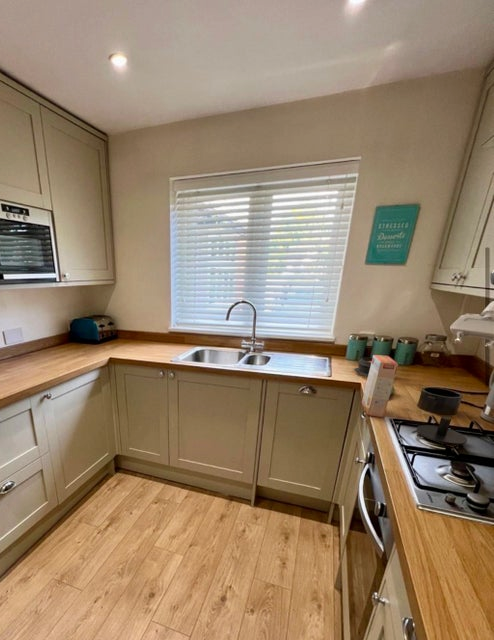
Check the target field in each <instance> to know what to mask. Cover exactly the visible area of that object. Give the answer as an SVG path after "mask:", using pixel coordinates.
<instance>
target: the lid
mask: <svg viewBox="0 0 494 640" xmlns="http://www.w3.org/2000/svg"><path fill="white" fill-rule="evenodd" d="M451 422H452V418H451V417H448V416H441V417H440V419H439V423H438V425H430V424H424V425H423V424H422V425H418V426H417V427H416V432H417V434H421V435H422V436H424V437H426V438H429V439H431V440H434V441H438V442H441V443H446V444H455V445H457V446H459V445H465V444H467V442H468V438H467V437H466V436H465V435H463V434H462V433H460V432H458V431H456V430H453V429H450V428H449V427H450V424H451Z"/></svg>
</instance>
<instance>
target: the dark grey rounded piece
mask: <svg viewBox="0 0 494 640" xmlns="http://www.w3.org/2000/svg"><path fill="white" fill-rule="evenodd" d="M372 358H373V357H369V356H368V357H367V356H366V357H361V358H359V360H358V361H357V364H358V367H355V368H354V372H355V373H357V374H360V375H361V376H362V377H366V378H368V375H369V371H370V366H371V362H372Z"/></svg>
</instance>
